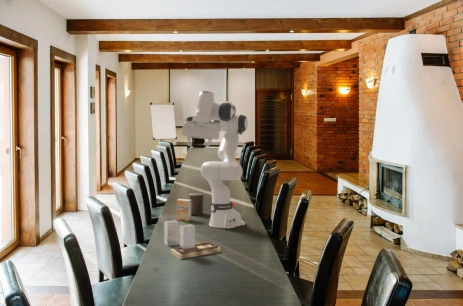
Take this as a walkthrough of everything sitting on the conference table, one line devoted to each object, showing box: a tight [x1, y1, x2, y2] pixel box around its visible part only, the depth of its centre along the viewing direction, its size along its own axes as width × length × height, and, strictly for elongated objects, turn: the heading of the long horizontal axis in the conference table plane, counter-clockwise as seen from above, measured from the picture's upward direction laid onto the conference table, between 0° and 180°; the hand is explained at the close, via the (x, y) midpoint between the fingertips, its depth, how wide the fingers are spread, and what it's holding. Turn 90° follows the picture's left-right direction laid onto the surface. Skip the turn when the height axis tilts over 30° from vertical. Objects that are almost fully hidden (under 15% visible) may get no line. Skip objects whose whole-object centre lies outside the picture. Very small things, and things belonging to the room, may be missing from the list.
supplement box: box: [176, 198, 192, 222], centre depth 278 cm, size 8×5×13 cm, turn 73°
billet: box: [179, 223, 196, 251], centre depth 213 cm, size 6×4×12 cm, turn 123°
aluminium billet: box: [163, 219, 179, 247], centre depth 228 cm, size 6×4×12 cm, turn 122°
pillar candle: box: [188, 192, 204, 216], centre depth 294 cm, size 10×10×15 cm
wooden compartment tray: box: [170, 241, 221, 260], centre depth 216 cm, size 22×10×3 cm, turn 122°
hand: (198, 146), depth 227 cm, fingers open, 8 cm apart
